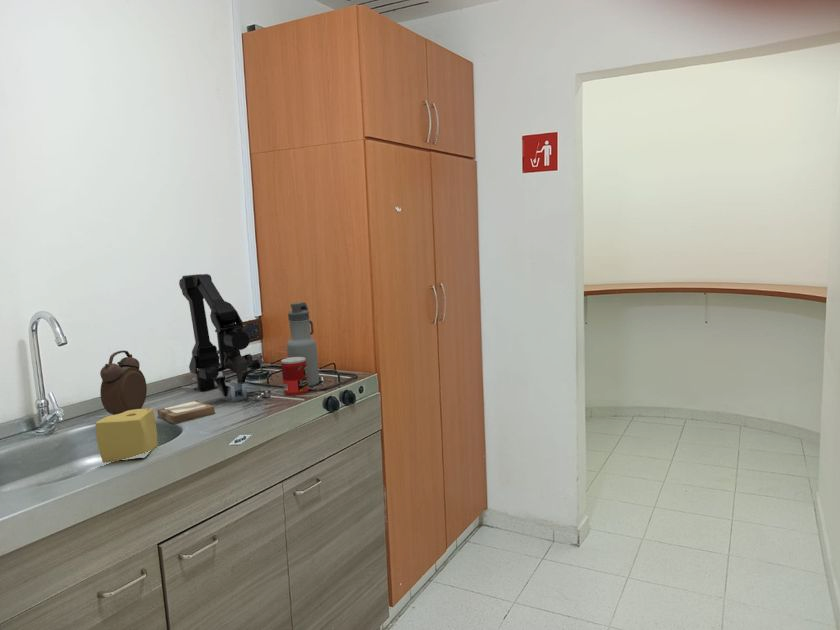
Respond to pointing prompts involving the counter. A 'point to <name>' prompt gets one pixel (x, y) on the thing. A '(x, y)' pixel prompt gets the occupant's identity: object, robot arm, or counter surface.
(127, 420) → the cheese
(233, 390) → the housing
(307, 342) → the water bottle
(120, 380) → the alarm clock
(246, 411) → the counter surface
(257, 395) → the loose bolts
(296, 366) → the canned food
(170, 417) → the picture frame
